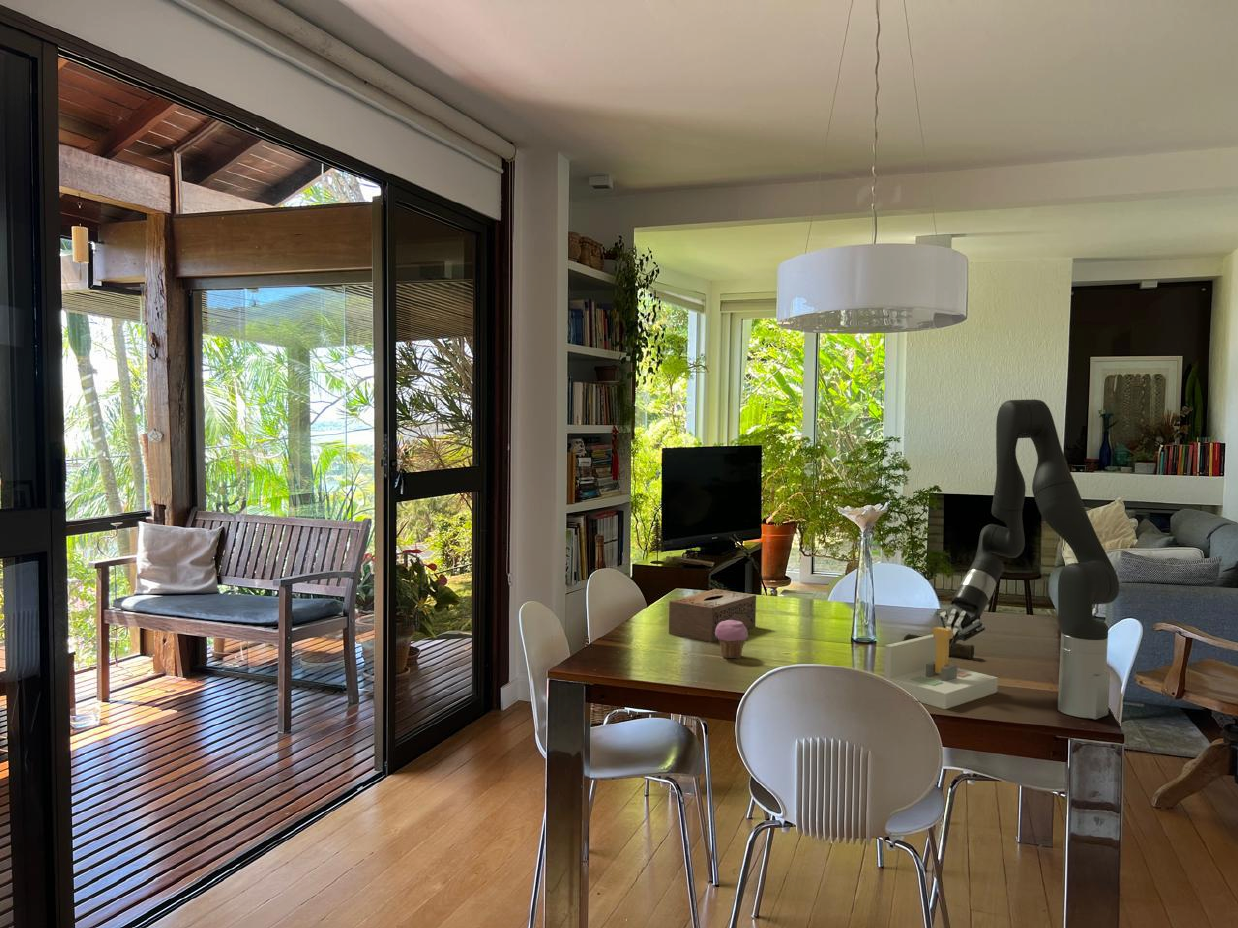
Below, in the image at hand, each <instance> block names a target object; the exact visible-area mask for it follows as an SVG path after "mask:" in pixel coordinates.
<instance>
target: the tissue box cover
mask: <svg viewBox="0 0 1238 928" xmlns="http://www.w3.org/2000/svg"><path fill="white" fill-rule="evenodd" d="M668 602H669V603H668V604H669V605H668V634H669V635H672V636H678V637H683V638H687V639H688V638H689V639H693V640H697V641H703V642H704V641H705V642H709V643H711V642H714V641H719V639H718V638H717V637H716V636H715V630H716V627H717V625H718V624H719V623H720V622H722V621H726V620H735V621H740V622H742V623H743V625H744V626H745V627H746V629H747V630H749V629H753V628H755V627H756V618H757V616H756V613H757V594H752V593H745V592H744V593H743V592H738V591H731V590H726V589H725V590H724V589H719V588H715V589H714V588H713V589H711V590H706V591H702V592H699V593H695V594H692V595H688V596H683V597H679V598H676V599H672V600H669V601H668Z"/></svg>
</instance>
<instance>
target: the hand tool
mask: <svg viewBox="0 0 1238 928" xmlns="http://www.w3.org/2000/svg"><path fill="white" fill-rule="evenodd" d="M923 636H924V635H916V634H910V633H908V634H906V635H905V636H904V638H903V639H902V641H906V640H910V639H915V638H919V637H923ZM949 656H954V657H958V658H964V659H965V658H967V659H969V660H970V661H972V660H973V659H974V656H975V646H974V644H970V645H968V644H967V645H966V644H961V643H957V642H956V643H955V645H954V647H953V649H952V650H951V651H949ZM971 659H972V660H971Z"/></svg>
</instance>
